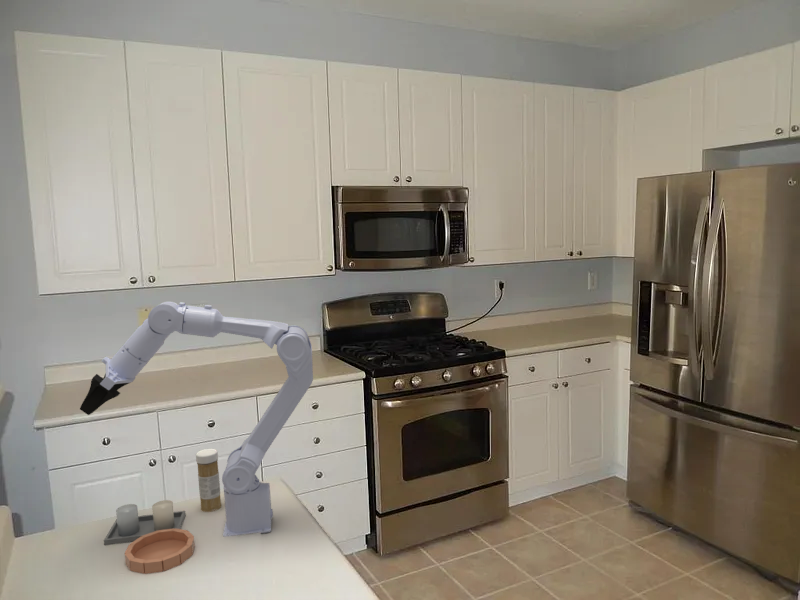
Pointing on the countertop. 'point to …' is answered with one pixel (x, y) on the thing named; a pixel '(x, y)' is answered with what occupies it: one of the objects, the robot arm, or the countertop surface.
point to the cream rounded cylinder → (163, 515)
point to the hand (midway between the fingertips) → (91, 405)
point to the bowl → (159, 550)
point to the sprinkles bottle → (208, 479)
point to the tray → (140, 528)
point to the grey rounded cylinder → (127, 520)
